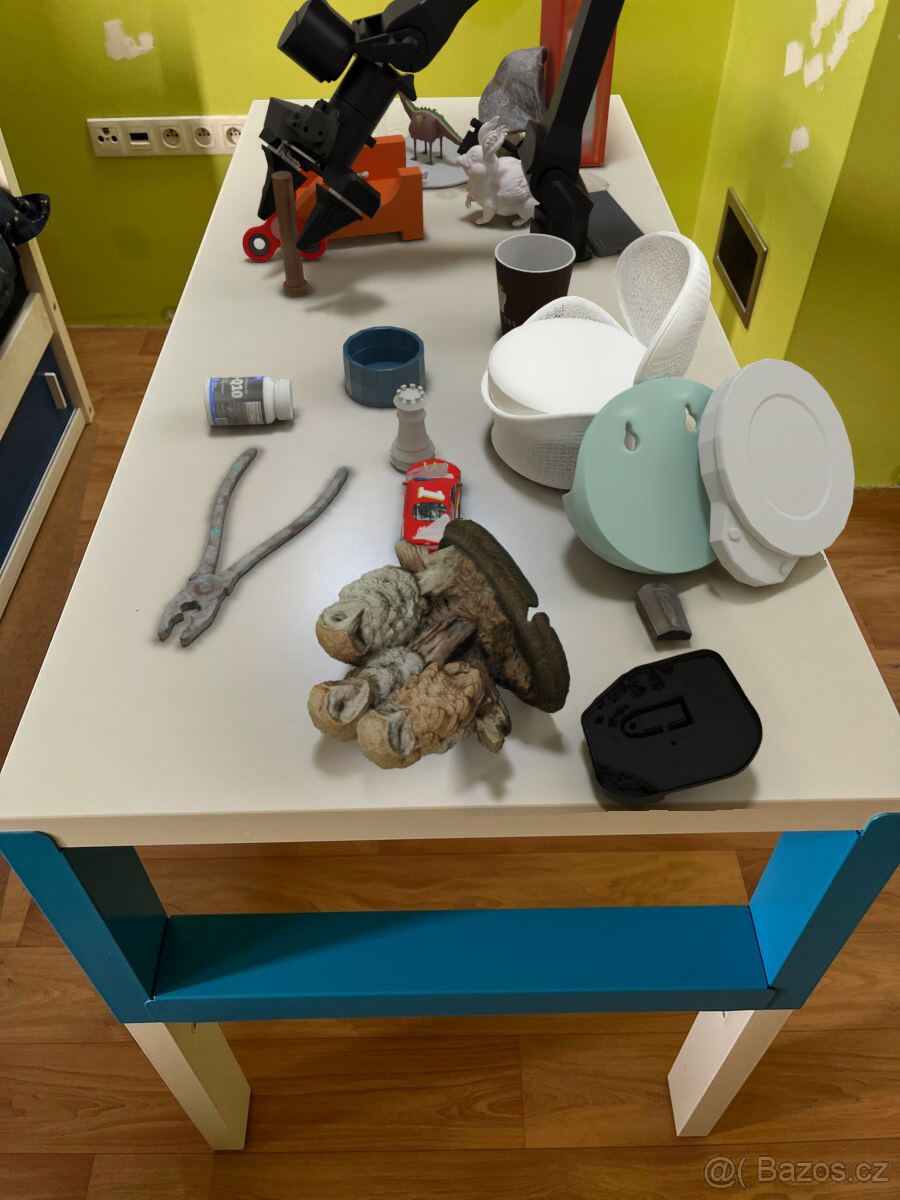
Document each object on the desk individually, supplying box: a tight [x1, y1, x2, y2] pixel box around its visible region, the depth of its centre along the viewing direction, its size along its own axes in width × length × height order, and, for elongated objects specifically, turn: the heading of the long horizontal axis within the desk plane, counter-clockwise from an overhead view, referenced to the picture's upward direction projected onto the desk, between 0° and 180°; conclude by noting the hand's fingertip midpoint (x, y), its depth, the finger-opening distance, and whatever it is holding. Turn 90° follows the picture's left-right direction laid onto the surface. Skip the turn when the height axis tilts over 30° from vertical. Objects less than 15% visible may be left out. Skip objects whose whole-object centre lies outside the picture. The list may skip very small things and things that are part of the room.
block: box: [634, 581, 693, 642], centre depth 81 cm, size 4×6×2 cm, turn 10°
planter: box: [561, 376, 719, 575], centre depth 86 cm, size 19×7×16 cm
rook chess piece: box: [389, 384, 437, 473], centre depth 94 cm, size 4×4×8 cm
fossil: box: [477, 46, 548, 136], centre depth 141 cm, size 15×14×10 cm
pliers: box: [157, 446, 349, 646], centre depth 88 cm, size 11×1×25 cm
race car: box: [400, 458, 463, 553], centre depth 89 cm, size 13×5×4 cm, turn 177°
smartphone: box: [587, 190, 651, 258], centre depth 130 cm, size 7×1×15 cm
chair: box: [480, 230, 712, 491], centre depth 91 cm, size 20×20×20 cm
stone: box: [579, 168, 611, 192], centre depth 139 cm, size 8×14×2 cm, turn 39°
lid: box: [698, 357, 856, 588], centre depth 85 cm, size 17×20×3 cm
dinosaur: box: [398, 95, 469, 189], centre depth 141 cm, size 18×18×11 cm
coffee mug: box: [494, 233, 576, 338], centre depth 110 cm, size 12×9×10 cm
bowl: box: [342, 325, 426, 408], centre depth 104 cm, size 8×8×4 cm
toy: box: [241, 185, 327, 263], centre depth 122 cm, size 10×10×1 cm
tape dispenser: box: [295, 134, 425, 241], centre depth 128 cm, size 18×13×8 cm
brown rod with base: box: [272, 171, 310, 298], centre depth 115 cm, size 3×3×14 cm
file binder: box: [539, 0, 618, 167], centre depth 138 cm, size 8×17×32 cm, turn 4°
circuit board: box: [470, 126, 523, 154], centre depth 149 cm, size 8×8×1 cm
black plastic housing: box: [580, 648, 764, 807], centre depth 72 cm, size 12×10×5 cm
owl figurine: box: [306, 516, 571, 770], centre depth 72 cm, size 18×12×17 cm
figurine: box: [456, 116, 540, 227], centre depth 128 cm, size 8×15×13 cm, turn 106°
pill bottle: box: [203, 375, 294, 427], centre depth 100 cm, size 5×5×8 cm
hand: (279, 233), depth 114 cm, fingers open, 9 cm apart
